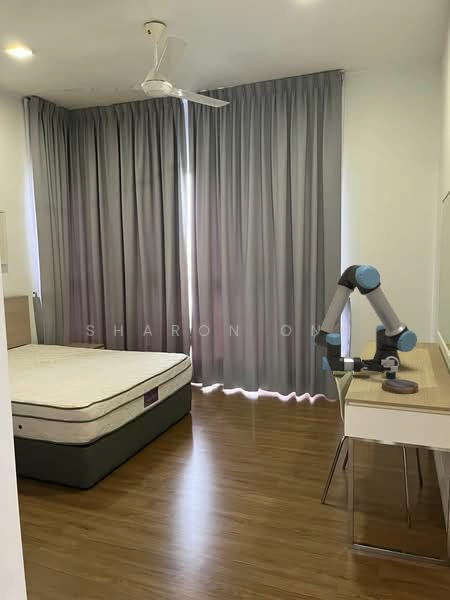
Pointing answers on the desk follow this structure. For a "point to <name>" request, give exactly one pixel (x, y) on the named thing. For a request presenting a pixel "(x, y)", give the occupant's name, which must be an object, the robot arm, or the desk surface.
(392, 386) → the plinth
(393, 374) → the watch
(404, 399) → the desk surface
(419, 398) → the desk surface
